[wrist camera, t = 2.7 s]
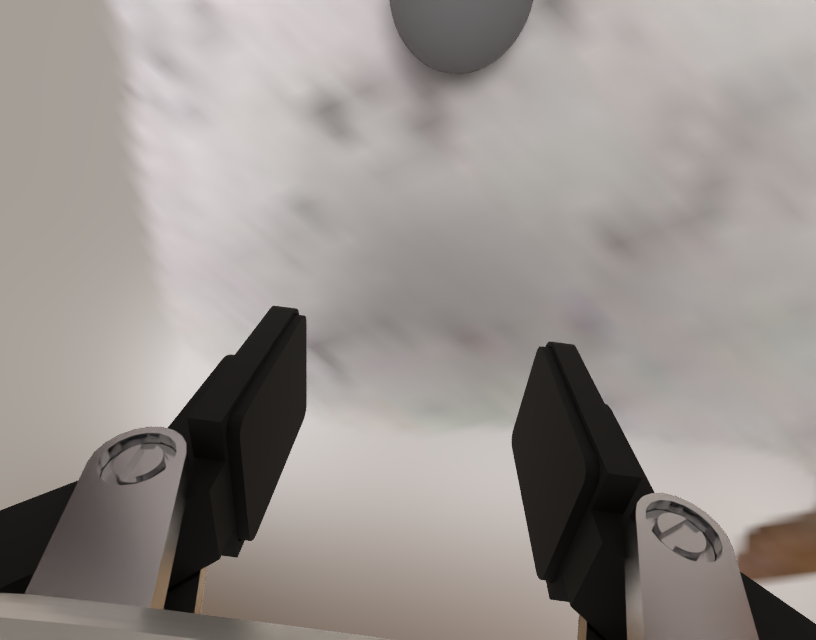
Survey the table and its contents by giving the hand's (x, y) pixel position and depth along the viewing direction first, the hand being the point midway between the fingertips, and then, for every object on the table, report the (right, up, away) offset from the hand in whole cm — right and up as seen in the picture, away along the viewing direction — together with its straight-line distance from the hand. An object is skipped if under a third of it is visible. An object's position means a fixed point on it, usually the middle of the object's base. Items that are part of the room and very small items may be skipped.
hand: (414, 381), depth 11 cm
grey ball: (+2, +14, +7) cm, 16 cm away
